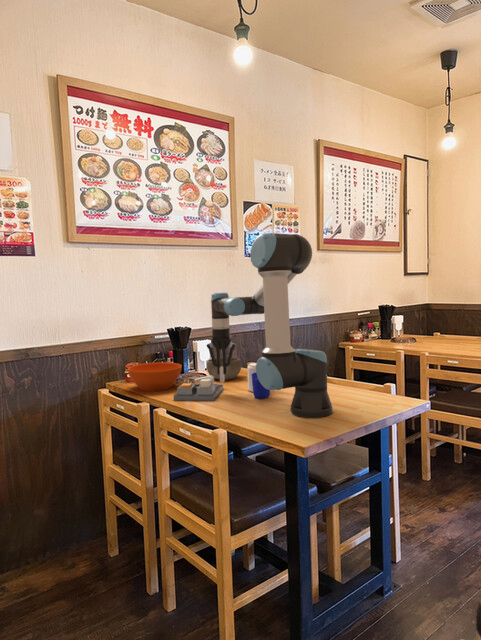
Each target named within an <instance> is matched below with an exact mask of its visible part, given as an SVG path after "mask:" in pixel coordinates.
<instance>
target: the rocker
mask: <svg viewBox="0 0 481 640" xmlns="http://www.w3.org/2000/svg"><path fill="white" fill-rule="evenodd" d="M206 377H212V375H211V376H210V375H207V376H203V377H202V376H201V377H197V378H195V379H194V380H193V381H194V383H196V382H200V381H201V380H202V379H206Z"/></svg>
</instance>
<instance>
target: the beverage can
mask: <svg viewBox="0 0 481 640" xmlns="http://www.w3.org/2000/svg"><path fill="white" fill-rule="evenodd" d="M256 363H257V362H251V363H249V364H248V366H247V390H248V391H250V392H251V393H253V384H252V373H256Z"/></svg>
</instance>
